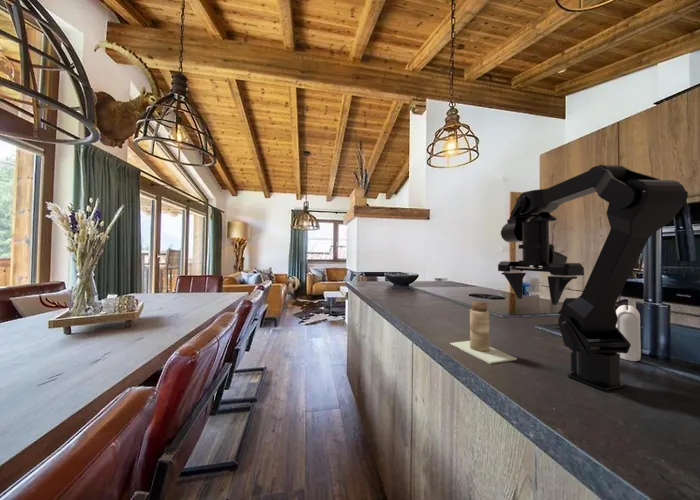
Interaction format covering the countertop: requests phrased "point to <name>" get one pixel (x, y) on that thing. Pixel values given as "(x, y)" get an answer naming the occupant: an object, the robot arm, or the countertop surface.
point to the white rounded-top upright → (630, 331)
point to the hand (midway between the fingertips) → (536, 301)
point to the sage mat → (485, 353)
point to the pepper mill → (479, 327)
